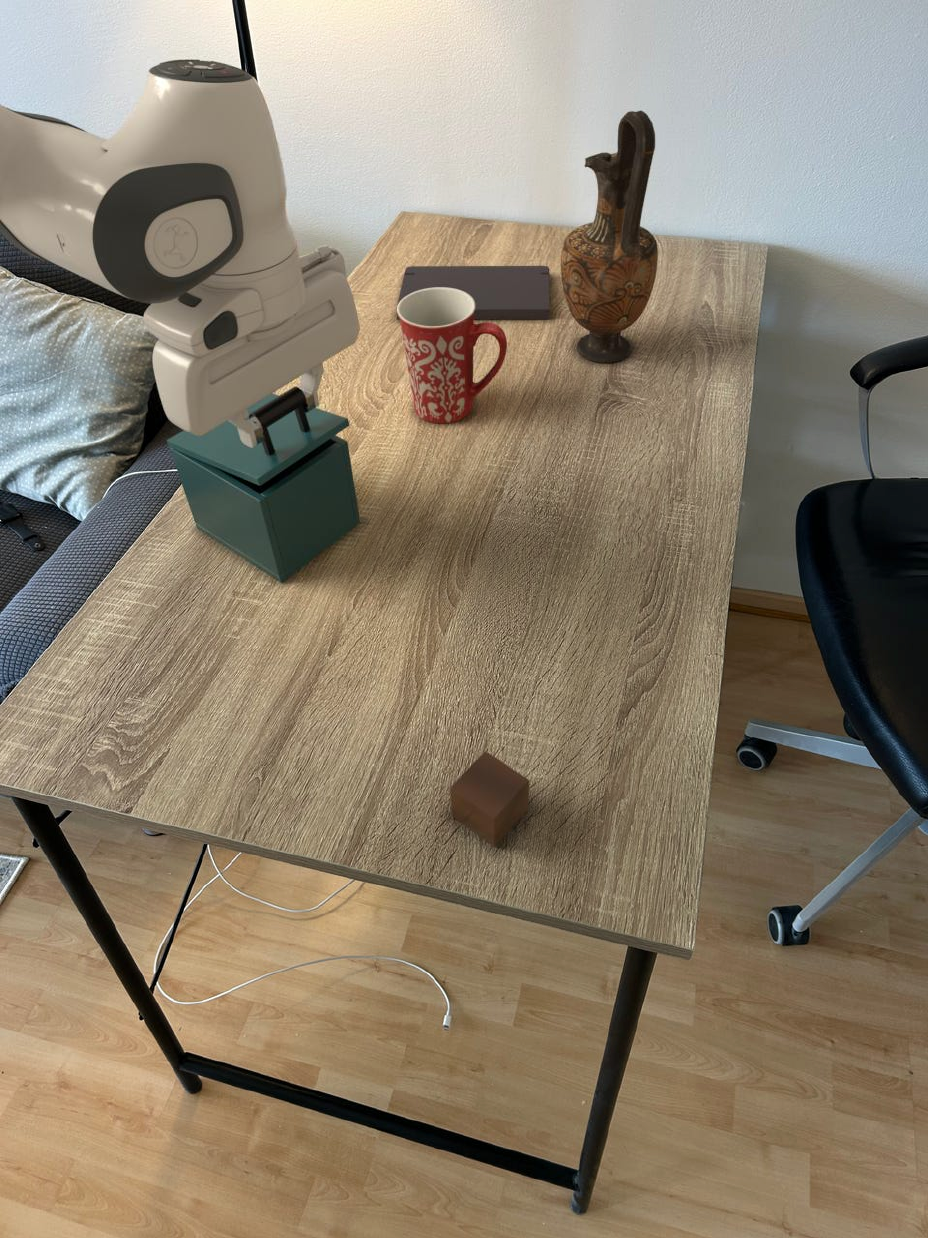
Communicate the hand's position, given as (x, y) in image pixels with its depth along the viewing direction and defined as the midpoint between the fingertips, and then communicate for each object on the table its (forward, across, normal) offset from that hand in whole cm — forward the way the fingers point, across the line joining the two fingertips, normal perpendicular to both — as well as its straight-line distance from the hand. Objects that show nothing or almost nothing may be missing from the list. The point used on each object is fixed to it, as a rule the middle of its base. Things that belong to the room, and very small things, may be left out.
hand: (281, 424), depth 84 cm
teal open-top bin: (+15, 0, -5) cm, 16 cm away
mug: (+15, -28, -3) cm, 32 cm away
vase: (+15, -50, +4) cm, 52 cm away
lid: (+3, 0, -4) cm, 5 cm away
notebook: (+15, -51, -19) cm, 57 cm away
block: (+15, +13, +35) cm, 41 cm away
